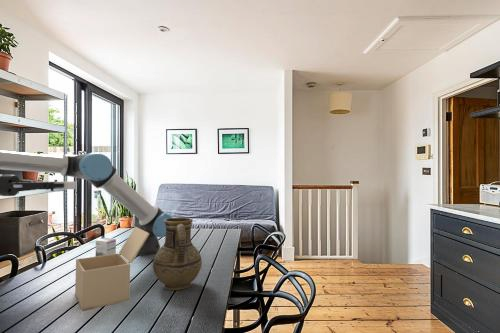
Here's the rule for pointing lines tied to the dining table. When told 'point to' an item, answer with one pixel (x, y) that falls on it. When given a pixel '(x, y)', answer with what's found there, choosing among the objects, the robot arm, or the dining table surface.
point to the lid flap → (133, 244)
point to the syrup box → (105, 246)
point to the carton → (102, 281)
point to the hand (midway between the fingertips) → (74, 185)
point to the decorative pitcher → (177, 256)
